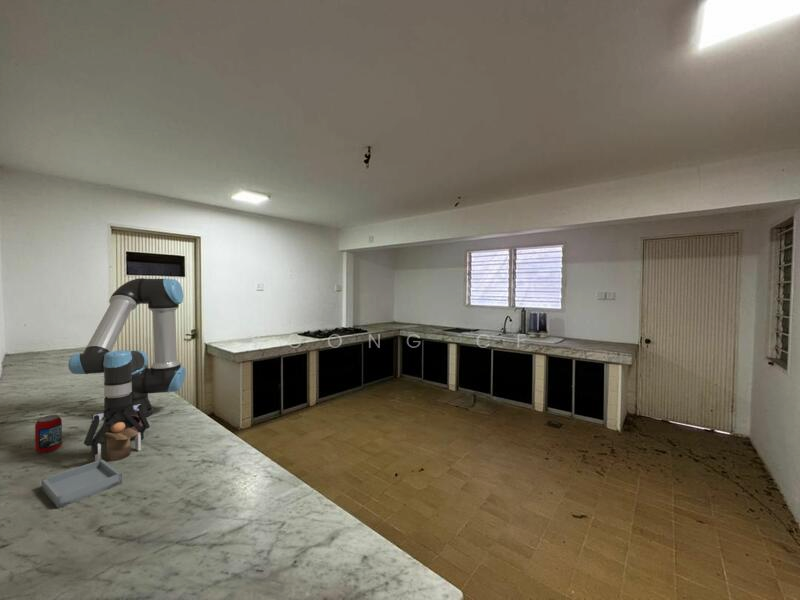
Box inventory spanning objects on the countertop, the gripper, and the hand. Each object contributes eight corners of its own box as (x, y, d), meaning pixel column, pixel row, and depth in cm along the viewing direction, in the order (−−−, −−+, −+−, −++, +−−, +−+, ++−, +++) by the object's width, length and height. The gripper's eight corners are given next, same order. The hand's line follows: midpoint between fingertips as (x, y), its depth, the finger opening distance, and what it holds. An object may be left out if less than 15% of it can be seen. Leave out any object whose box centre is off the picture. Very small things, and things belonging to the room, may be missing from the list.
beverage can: (44, 455, 118) (44, 422, 118) (30, 453, 120) (29, 420, 119) (67, 446, 125) (66, 415, 125) (53, 444, 126) (52, 413, 126)
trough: (126, 450, 123) (126, 424, 122) (138, 458, 117) (138, 431, 117) (103, 457, 117) (103, 430, 117) (115, 466, 112) (115, 438, 111)
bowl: (150, 437, 134) (150, 417, 133) (111, 450, 122) (111, 429, 122) (130, 428, 141) (130, 410, 141) (91, 440, 130) (91, 420, 130)
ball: (122, 429, 121) (122, 418, 121) (127, 431, 119) (126, 419, 119) (109, 433, 117) (108, 422, 118) (113, 435, 115) (112, 423, 115)
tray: (102, 468, 110) (102, 459, 110) (121, 483, 102) (121, 473, 102) (41, 489, 99) (41, 479, 99) (58, 508, 90) (58, 497, 90)
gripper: (151, 385, 129) (151, 440, 130) (70, 401, 110) (71, 467, 110) (160, 388, 125) (160, 445, 126) (77, 406, 106) (78, 474, 106)
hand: (118, 455), depth 118 cm, fingers open, 11 cm apart
